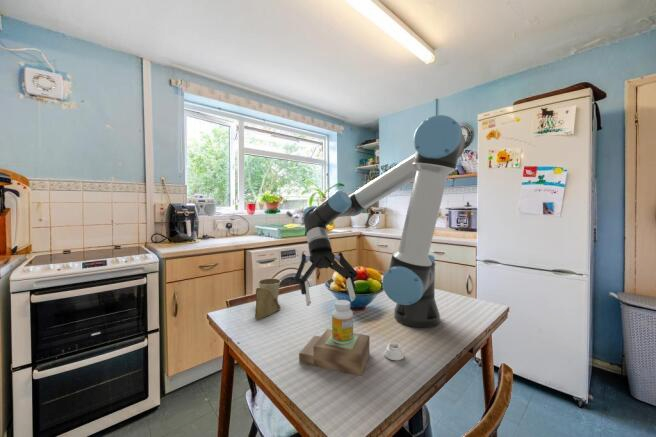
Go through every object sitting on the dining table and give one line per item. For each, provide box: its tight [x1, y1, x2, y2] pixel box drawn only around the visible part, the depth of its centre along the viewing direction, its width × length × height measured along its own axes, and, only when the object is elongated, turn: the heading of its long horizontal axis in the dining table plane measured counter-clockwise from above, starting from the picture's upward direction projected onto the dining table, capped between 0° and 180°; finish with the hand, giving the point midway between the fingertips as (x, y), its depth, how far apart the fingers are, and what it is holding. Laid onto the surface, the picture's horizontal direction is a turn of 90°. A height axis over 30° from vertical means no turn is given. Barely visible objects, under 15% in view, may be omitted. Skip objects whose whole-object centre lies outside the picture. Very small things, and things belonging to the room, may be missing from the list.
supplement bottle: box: [331, 299, 354, 344], centre depth 70 cm, size 5×5×10 cm
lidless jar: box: [383, 342, 405, 361], centre depth 72 cm, size 5×3×5 cm
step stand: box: [298, 328, 370, 377], centre depth 71 cm, size 16×10×5 cm, turn 70°
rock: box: [254, 287, 281, 321], centre depth 101 cm, size 11×9×10 cm
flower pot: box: [257, 278, 282, 301], centre depth 114 cm, size 9×9×9 cm
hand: (331, 301), depth 80 cm, fingers open, 13 cm apart
